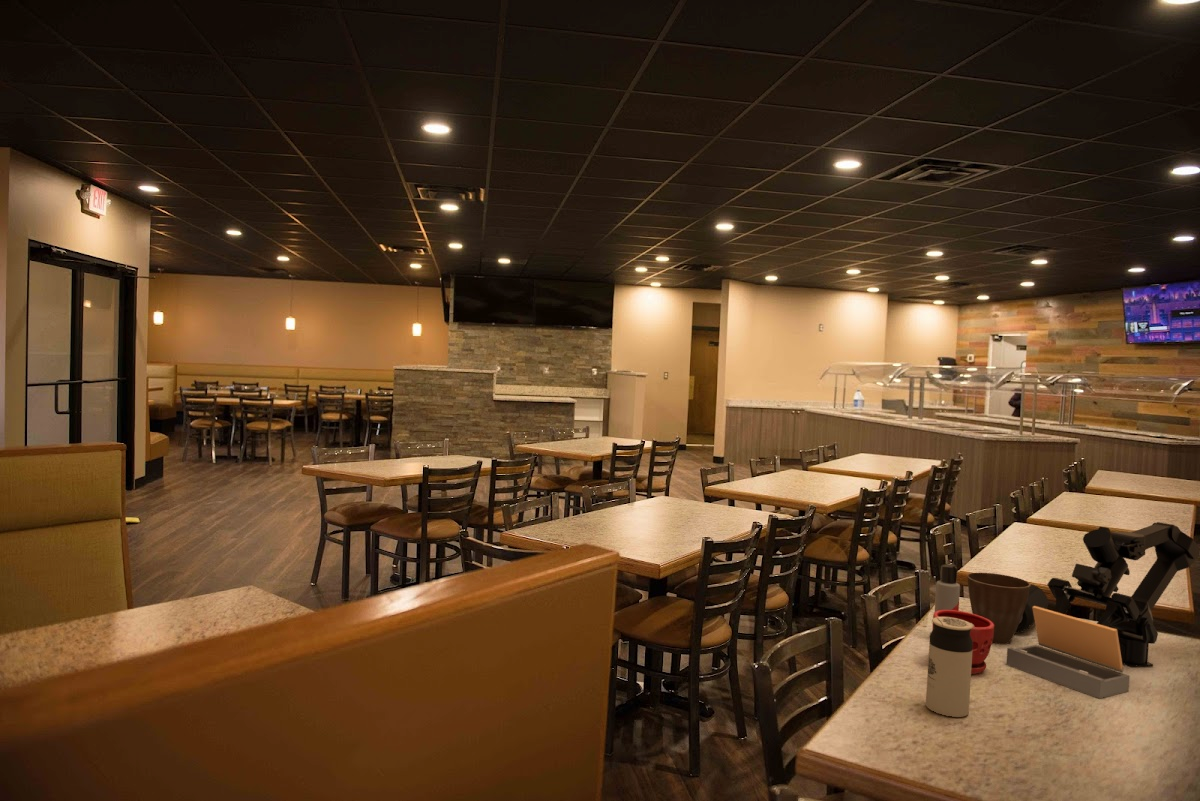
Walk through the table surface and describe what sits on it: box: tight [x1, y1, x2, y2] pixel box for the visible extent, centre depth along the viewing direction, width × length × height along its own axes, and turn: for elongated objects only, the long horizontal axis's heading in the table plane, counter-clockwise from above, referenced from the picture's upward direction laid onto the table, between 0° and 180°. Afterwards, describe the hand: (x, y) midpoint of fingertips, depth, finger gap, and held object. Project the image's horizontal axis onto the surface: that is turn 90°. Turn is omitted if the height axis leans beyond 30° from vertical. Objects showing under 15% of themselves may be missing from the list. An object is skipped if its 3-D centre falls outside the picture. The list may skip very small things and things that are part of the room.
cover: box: [1032, 606, 1124, 673], centre depth 182 cm, size 10×19×1 cm
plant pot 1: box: [931, 610, 994, 675], centre depth 183 cm, size 13×13×12 cm
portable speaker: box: [1015, 583, 1049, 634], centre depth 222 cm, size 26×10×10 cm, turn 140°
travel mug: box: [925, 617, 974, 718], centre depth 158 cm, size 8×8×18 cm
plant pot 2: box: [967, 572, 1032, 645], centre depth 206 cm, size 15×15×16 cm
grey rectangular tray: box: [1005, 644, 1131, 699], centre depth 180 cm, size 11×22×5 cm, turn 28°
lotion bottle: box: [933, 563, 961, 614], centre depth 203 cm, size 6×6×20 cm
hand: (1075, 625), depth 181 cm, fingers open, 9 cm apart
